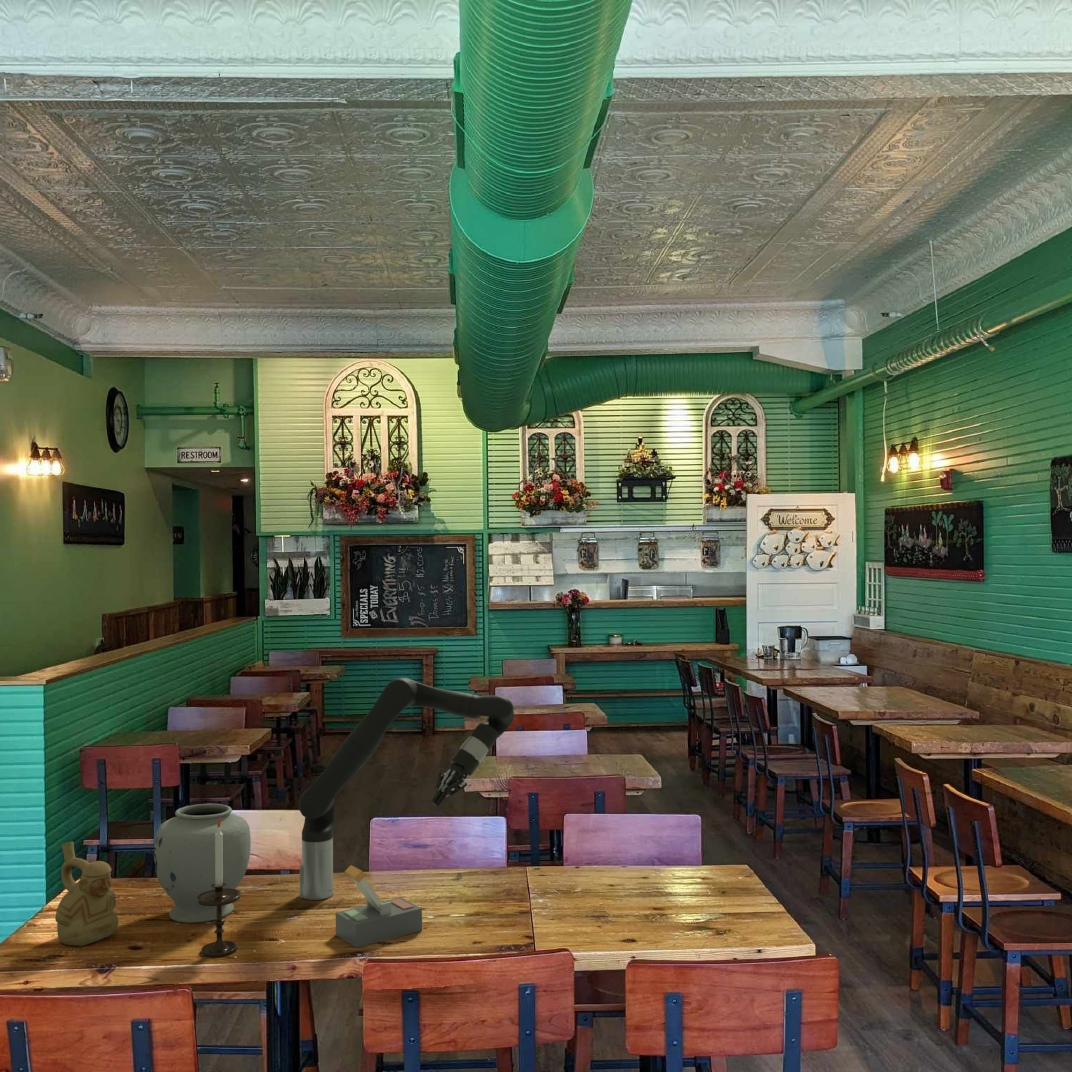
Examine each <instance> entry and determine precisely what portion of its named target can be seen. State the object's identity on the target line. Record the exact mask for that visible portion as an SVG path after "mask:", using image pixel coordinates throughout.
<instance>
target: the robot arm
mask: <svg viewBox="0 0 1072 1072" xmlns="http://www.w3.org/2000/svg"><path fill="white" fill-rule="evenodd" d="M409 707H424V708H428V709H429V708H431V709H435V710H439V711H442V712H444V713H447V714H450V715H455V716H458V717H463V718H468V719H480V718H481V717H488V718H487V719H486V720H485V721H484V722H480V723H478V724H477V726H476V727H475V728H474V729H473V731H472V733H471V734H470V735H469V736H468V737H467V739H465V741H464V742H463V743H462V744H461V746H460V747H459V749H458V750H457V751H456V752H455V754H454V755H453V757H452V758H451V759H450V763H451V766H450V767H448V768H447V769H446V772H444V773H443V772H442V771H440V772H439V773H438V775H437V780H436V786H435V788H436V789H437V792H436V794H435V795H434V796H433V798H432V799H431V804H433V805H434V807H435V806H436V807H440V805H441V804H442V802H443V801H444V800H445V798H447V797H449V796H451V797H452V796H454V795H456V794H457V793H458V792H460V791H462V789H465V788H466V787H467V786H468V783H467V781H466V779H467V778H468V777H471V776H473V774H474V773H475V772H476V770H477V769H478V768H479V766H480V764H481V763H482V762H483V760H484V759H486V758H485V757H486V756H487V754H488V752H490V749H491V748H492V747H493V745H494V744H495V742H496V741H497V739H498V738H499V737H501V736H502V735H503V734H504V733H505V732H506V730H507V729H508V728H509V727H510V726H511V724H512V723H513V721H514V718H515V711H514V704H513V703H512V701H511V699H509V698H507V697H505V696H502V695H477V694H472V693H467V692H461V691H454V690H447V689H442V688H438V687H433V686H431V685H426V684H423V683H420V682H418V681H416V680H413V679H410V678H408V677H398V678H397V677H396V678H394V679H392V680H391V681H389V682H388V683H387V684H386V686H385V687H384V689H383V690H382V691H381V694H380V695H379V697H378V698H377V699H376V702H375V703H374V705H373V706H372V708H371V709H370V710H369V712H368V713H367V714H366V715H365V716H364V717H363V718H362V719H361V720H360V721H359V722H358V724H357V725H356V726H355V727H354V728H353V730H352V731H351V732H350V733H349V735H347V737H346V738H345V740H343V742H342V743H341V745H340V746H339V747H338V749H337V751H336V752H335V753H334V755H333V756H332V757H331V759H330V761H329V762H328V763H327V766H326V768H325V769H324V770H323V772H322V773H321V774H320V775H319V776H318V777H317V778H316V780H314V781H313V783H312V784H311V785H310V786H308V788H306V789H305V791H303V792H302V793H301V795H300V797H299V800H298V810H299V812H300V814H301V815H302V816H303V817H304V823H303V828H302V829H301V864H300V865H299V898H300V899H305V900H310V901H317V900H323V899H327V898H328V899H329V898H330V897H333V895H334V841H333V840H334V835H333V834H334V833H333V832H334V828H335V817H336V816H335V812H336V810H335V809H336V805H335V804H336V803H335V802H336V799H335V797H336V796H337V794H338V793H339V792H340V790H341V789H342V788H343V786H344V785H346V784H347V782H348V781H349V780H351V778H352V777H354V776H355V774H357V773H358V772H359V771H360V769H362V767H364V765H365V764H366V763H367V762H368V761H369V759H370V758H371V757H372V755H373V754H374V753H375V752H376V750H377V749H378V747H379V745H380V743H381V741H382V739H383V737H384V736H385V733H386V731H387V730H388V729H389V726H390V725H391V724H392V722H393V721H394V720H395V719H396V718H397V717H398V716H399V714H400V713H402V712H403V710H405V709H406V708H409Z"/></svg>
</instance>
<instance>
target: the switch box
mask: <svg viewBox="0 0 1072 1072" xmlns="http://www.w3.org/2000/svg"><path fill="white" fill-rule="evenodd" d="M381 901H382V900H381ZM382 902H383V903H382V904H380V910H378V909H376V908H374V907H372V906H371V904H370V903H369V902H368V900H367V899H366V905H362V906H357V907H353V908H348V909H344V910H341V911H337V912H335V935H336V936H337V937H339V939H341V940H343V941H345V942H346V943H348V944H349V945H350V946H352V947H354V948H356V949H357V948H361V947H364V946H367V945H372V944H375V943H379V942H383V941H388V940H390V939H395V938H399V937H403V936H407V935H410V934H414V933H418V932H422V931H423V908H422V907H420V906H418V905H416V904H415V903H412V902H411V901H409V900H407V899H405V898H403V897H401V896H400V897H396V898H395V897H394V898H391V899H387V900H383V901H382Z"/></svg>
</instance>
